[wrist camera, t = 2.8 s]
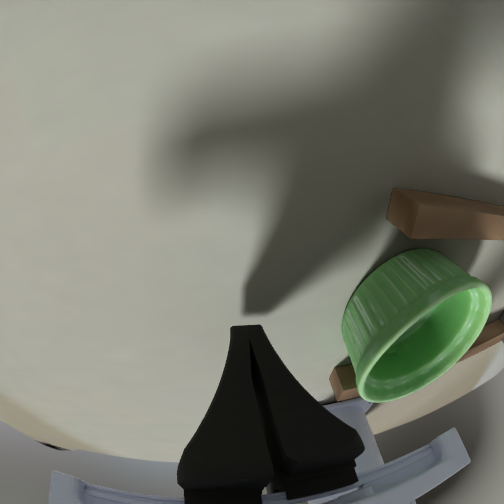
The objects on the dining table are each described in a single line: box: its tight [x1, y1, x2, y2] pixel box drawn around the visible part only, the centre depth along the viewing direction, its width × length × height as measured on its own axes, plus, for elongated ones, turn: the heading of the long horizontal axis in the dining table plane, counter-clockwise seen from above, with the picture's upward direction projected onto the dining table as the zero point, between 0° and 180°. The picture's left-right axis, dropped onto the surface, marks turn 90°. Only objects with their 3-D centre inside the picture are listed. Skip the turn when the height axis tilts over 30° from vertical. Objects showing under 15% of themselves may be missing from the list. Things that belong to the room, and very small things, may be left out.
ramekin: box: [342, 248, 492, 403], centre depth 13 cm, size 9×9×4 cm
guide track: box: [329, 188, 504, 401], centre depth 15 cm, size 14×24×3 cm, turn 87°
